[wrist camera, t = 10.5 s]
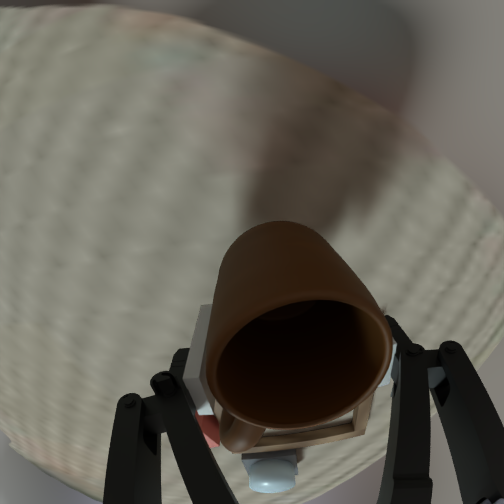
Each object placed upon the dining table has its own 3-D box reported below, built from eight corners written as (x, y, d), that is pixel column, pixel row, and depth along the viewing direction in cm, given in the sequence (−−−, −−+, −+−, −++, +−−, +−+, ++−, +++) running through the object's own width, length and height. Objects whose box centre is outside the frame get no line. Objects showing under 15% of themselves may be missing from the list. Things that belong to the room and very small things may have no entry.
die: (197, 428, 30) (193, 454, 26) (180, 413, 29) (174, 439, 25) (221, 422, 29) (219, 449, 26) (204, 407, 28) (200, 434, 25)
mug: (275, 375, 22) (288, 475, 13) (184, 347, 21) (159, 450, 12) (354, 245, 18) (431, 322, 9) (247, 197, 17) (251, 250, 8)
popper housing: (250, 468, 34) (250, 479, 32) (241, 448, 32) (241, 459, 30) (296, 464, 33) (298, 474, 32) (294, 442, 31) (296, 454, 29)
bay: (232, 444, 31) (232, 453, 30) (196, 347, 25) (193, 358, 24) (361, 426, 30) (364, 434, 29) (376, 320, 25) (382, 329, 23)
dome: (253, 477, 32) (253, 494, 29) (246, 461, 30) (245, 479, 27) (294, 473, 31) (296, 490, 29) (292, 456, 29) (294, 475, 27)
